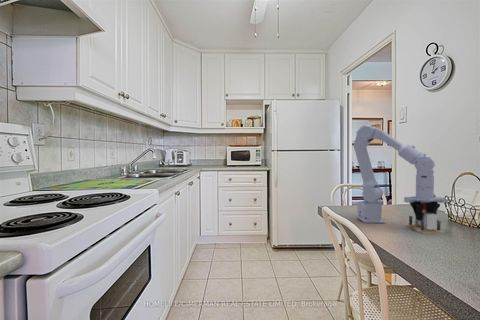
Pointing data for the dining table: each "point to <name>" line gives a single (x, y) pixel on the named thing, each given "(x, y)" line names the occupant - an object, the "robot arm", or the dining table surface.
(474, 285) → the dining table surface
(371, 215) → the robot arm
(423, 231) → the caddy
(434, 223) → the drive
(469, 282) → the dining table surface
